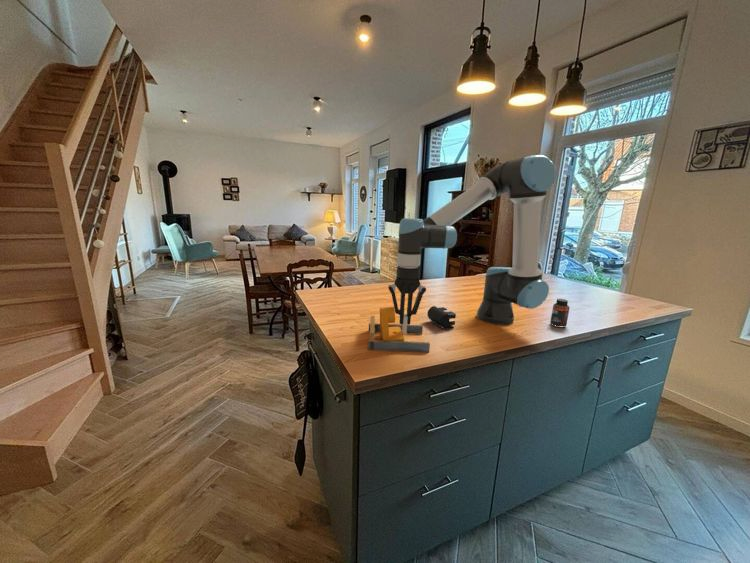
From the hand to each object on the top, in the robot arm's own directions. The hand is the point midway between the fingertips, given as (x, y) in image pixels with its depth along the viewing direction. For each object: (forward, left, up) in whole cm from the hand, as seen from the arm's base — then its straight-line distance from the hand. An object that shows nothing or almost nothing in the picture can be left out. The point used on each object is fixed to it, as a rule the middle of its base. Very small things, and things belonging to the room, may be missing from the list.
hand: (404, 332), depth 105 cm
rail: (+2, 0, -3) cm, 4 cm away
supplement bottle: (-68, -22, -3) cm, 71 cm away
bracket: (+4, 0, -3) cm, 5 cm away
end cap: (-17, -17, -4) cm, 24 cm away
